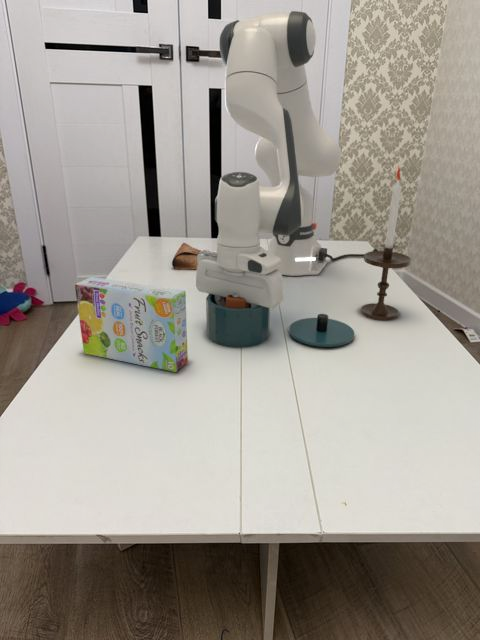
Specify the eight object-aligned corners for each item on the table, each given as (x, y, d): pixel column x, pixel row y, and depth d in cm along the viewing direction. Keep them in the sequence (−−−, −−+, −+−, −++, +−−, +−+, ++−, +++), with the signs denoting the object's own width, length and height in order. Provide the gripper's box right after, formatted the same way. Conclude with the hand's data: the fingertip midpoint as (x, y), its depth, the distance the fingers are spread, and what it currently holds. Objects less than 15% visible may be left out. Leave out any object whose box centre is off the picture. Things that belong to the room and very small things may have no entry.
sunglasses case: (200, 268, 153) (188, 249, 151) (180, 279, 155) (168, 260, 152) (205, 252, 169) (194, 235, 167) (187, 262, 171) (176, 245, 168)
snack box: (189, 361, 100) (187, 289, 93) (176, 373, 95) (172, 299, 89) (98, 343, 106) (90, 274, 99) (81, 354, 101) (71, 283, 95)
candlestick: (383, 325, 119) (407, 169, 104) (348, 311, 126) (365, 164, 111) (410, 314, 126) (435, 167, 110) (375, 302, 133) (394, 161, 117)
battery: (248, 326, 115) (249, 284, 111) (245, 338, 109) (246, 295, 105) (230, 325, 115) (230, 283, 111) (225, 337, 109) (225, 294, 105)
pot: (228, 317, 121) (229, 283, 117) (279, 330, 115) (280, 295, 111) (195, 337, 110) (193, 301, 106) (248, 352, 104) (249, 314, 100)
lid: (305, 317, 122) (306, 299, 120) (363, 331, 116) (365, 312, 114) (277, 338, 111) (278, 319, 109) (339, 355, 104) (341, 334, 102)
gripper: (188, 251, 106) (190, 312, 113) (273, 268, 98) (270, 333, 104) (206, 245, 111) (207, 303, 118) (288, 260, 103) (284, 322, 109)
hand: (237, 317), depth 111 cm, fingers closed on battery, 6 cm apart
